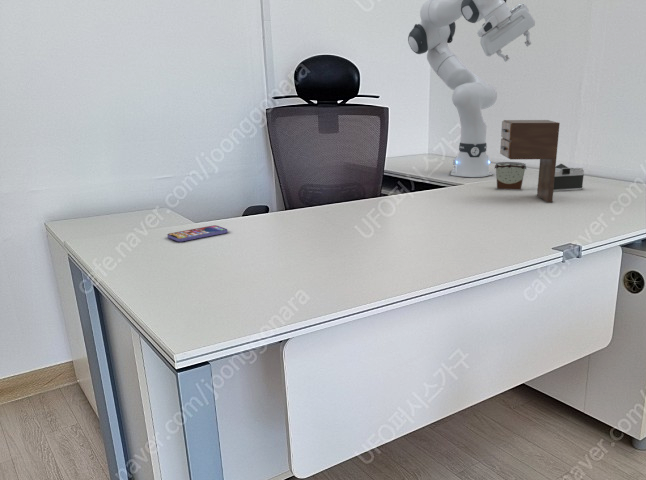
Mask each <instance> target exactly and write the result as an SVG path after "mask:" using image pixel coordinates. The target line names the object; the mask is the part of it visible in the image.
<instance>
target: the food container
mask: <svg viewBox="0 0 646 480" xmlns="http://www.w3.org/2000/svg"><path fill="white" fill-rule="evenodd" d="M494 170H495V177H496V190H498V191H502V190H505V191H511V190H512V191H522V187H523V182H524V177H525V170H527V165H526V163H524V162H520V161H500V162H498V161H497V162H496V163H495V165H494Z"/></svg>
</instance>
